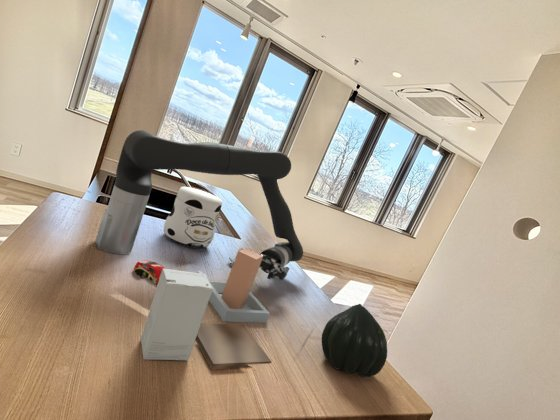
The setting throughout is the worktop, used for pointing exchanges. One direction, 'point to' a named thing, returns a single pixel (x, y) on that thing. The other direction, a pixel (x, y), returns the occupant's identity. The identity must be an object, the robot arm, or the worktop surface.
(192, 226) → the milk container
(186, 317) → the skincare box
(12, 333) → the worktop surface
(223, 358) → the walnut board
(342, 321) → the squash
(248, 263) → the terracotta block
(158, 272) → the race car
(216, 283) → the grey channel
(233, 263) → the pacifier
